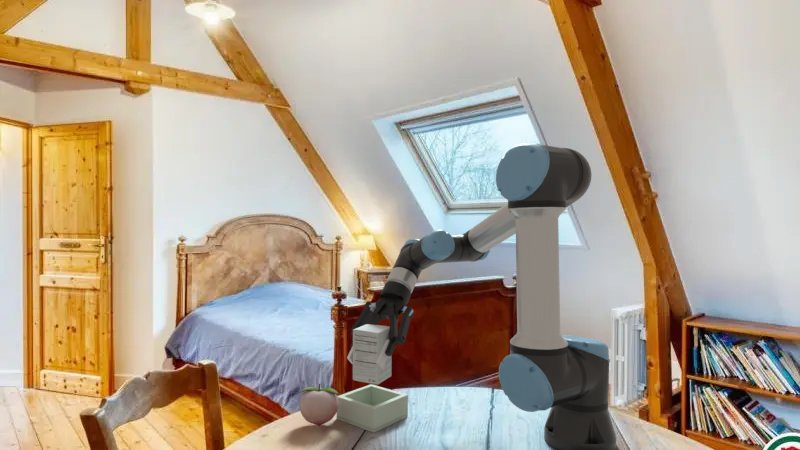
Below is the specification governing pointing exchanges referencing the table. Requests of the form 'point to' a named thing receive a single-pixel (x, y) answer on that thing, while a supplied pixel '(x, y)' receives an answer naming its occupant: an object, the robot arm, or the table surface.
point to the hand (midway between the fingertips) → (364, 363)
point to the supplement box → (370, 353)
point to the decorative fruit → (318, 404)
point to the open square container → (372, 407)
